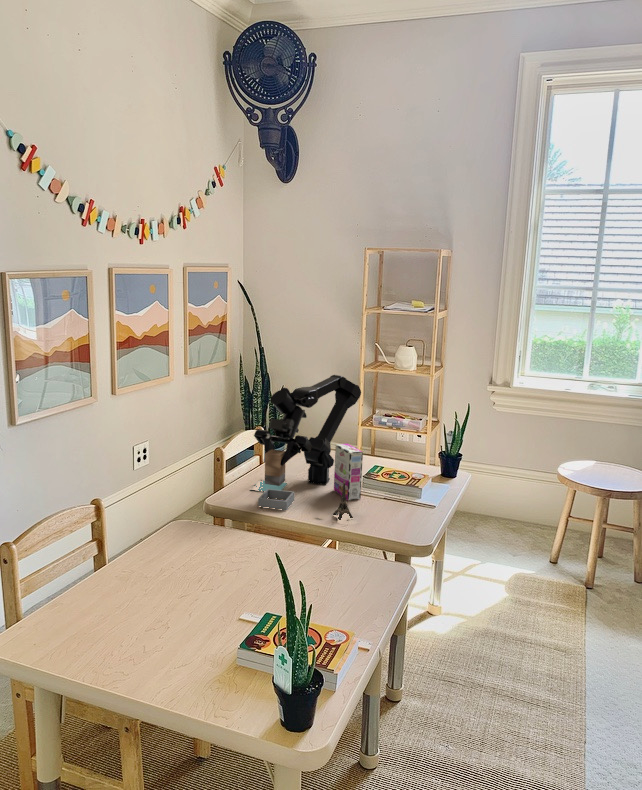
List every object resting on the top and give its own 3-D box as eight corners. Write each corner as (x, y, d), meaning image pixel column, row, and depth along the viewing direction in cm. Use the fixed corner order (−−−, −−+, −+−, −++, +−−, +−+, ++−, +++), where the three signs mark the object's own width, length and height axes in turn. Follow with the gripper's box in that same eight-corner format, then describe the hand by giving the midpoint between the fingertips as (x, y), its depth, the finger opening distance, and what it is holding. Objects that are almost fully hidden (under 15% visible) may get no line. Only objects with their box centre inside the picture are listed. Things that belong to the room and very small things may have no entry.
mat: (287, 484, 228) (287, 482, 228) (278, 493, 219) (278, 492, 219) (259, 481, 231) (259, 480, 230) (250, 490, 221) (250, 489, 221)
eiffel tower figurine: (312, 520, 199) (313, 478, 196) (325, 509, 208) (326, 468, 206) (359, 529, 193) (360, 486, 191) (370, 517, 202) (372, 476, 200)
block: (285, 480, 211) (285, 451, 209) (279, 486, 206) (280, 455, 204) (270, 478, 213) (271, 449, 210) (264, 483, 208) (265, 453, 206)
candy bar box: (361, 499, 216) (363, 451, 212) (348, 501, 214) (350, 453, 210) (346, 488, 226) (347, 442, 222) (333, 490, 224) (334, 443, 220)
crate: (294, 500, 213) (294, 491, 213) (286, 510, 204) (286, 501, 204) (267, 497, 215) (267, 488, 215) (258, 507, 206) (258, 498, 206)
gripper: (256, 404, 212) (238, 446, 205) (308, 412, 204) (291, 455, 197) (269, 423, 221) (251, 463, 213) (319, 430, 213) (302, 473, 205)
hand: (273, 463), depth 207 cm, fingers closed on block, 5 cm apart
